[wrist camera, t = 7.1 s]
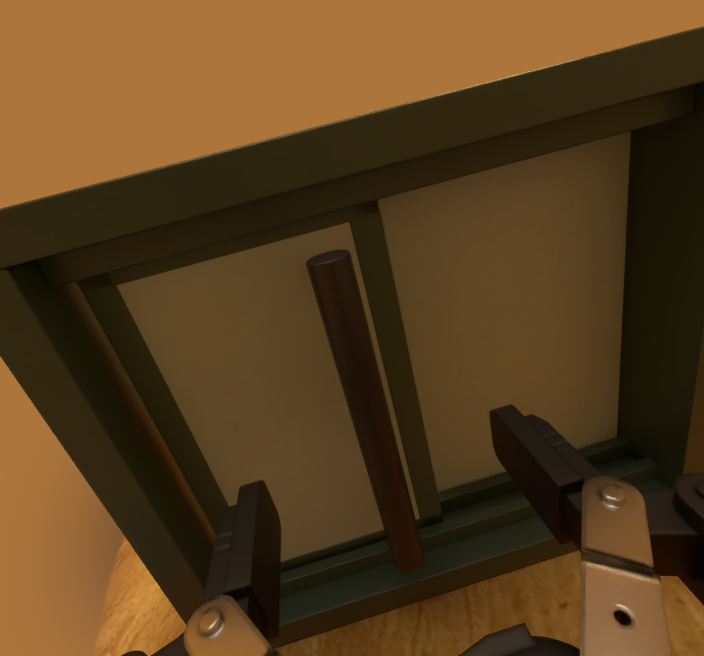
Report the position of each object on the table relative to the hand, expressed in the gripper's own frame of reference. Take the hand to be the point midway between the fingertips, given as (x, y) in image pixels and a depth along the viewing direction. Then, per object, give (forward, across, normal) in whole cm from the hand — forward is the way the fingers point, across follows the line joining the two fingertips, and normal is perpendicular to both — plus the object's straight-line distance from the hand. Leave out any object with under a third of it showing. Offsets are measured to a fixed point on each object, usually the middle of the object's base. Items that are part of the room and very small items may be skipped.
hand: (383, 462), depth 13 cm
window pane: (+3, -3, -9) cm, 10 cm away
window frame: (+4, +3, -11) cm, 12 cm away
